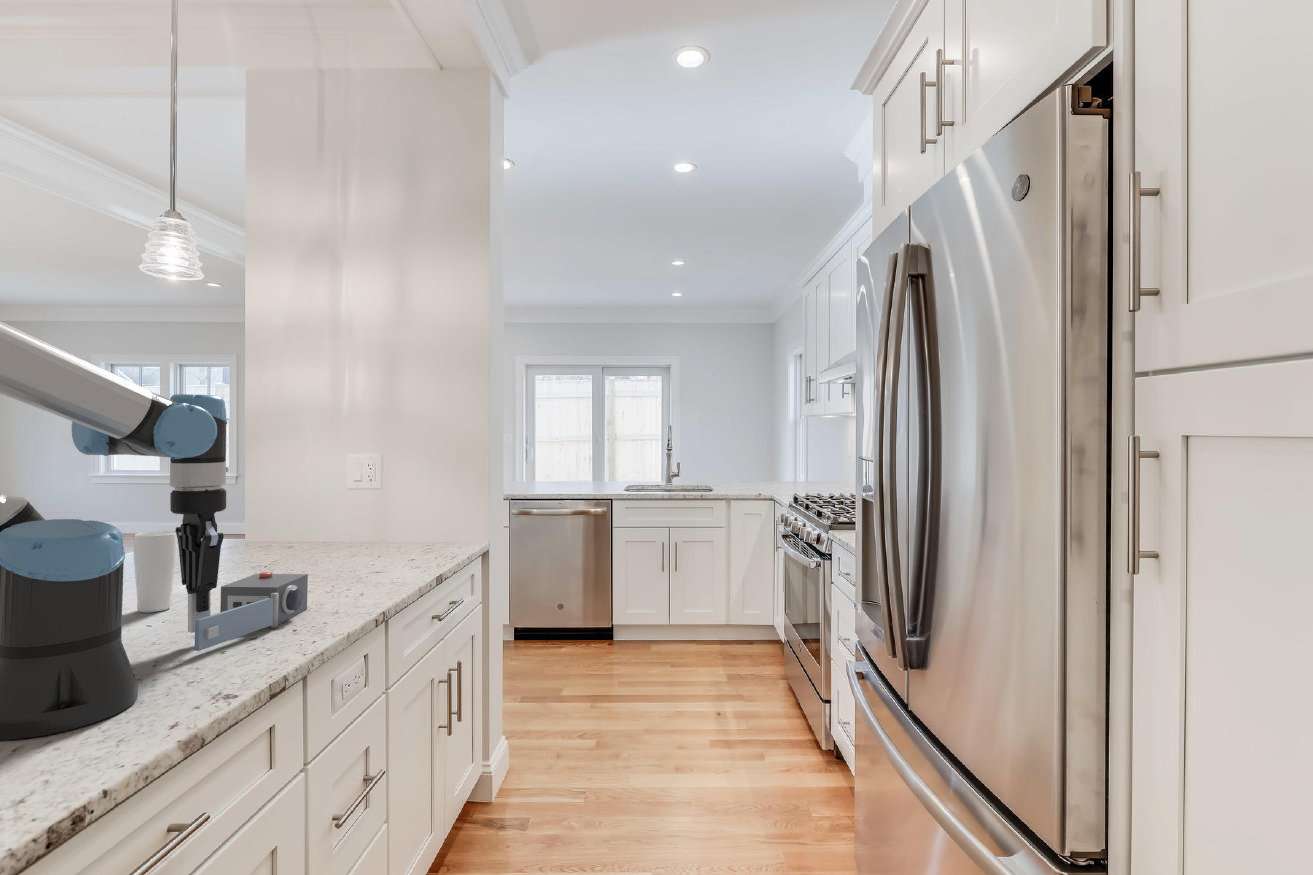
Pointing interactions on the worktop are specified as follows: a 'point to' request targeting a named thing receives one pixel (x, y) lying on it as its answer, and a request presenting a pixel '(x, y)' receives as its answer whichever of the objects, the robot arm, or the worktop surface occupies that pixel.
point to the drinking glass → (155, 569)
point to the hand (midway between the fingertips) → (199, 629)
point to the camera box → (268, 592)
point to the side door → (236, 622)
